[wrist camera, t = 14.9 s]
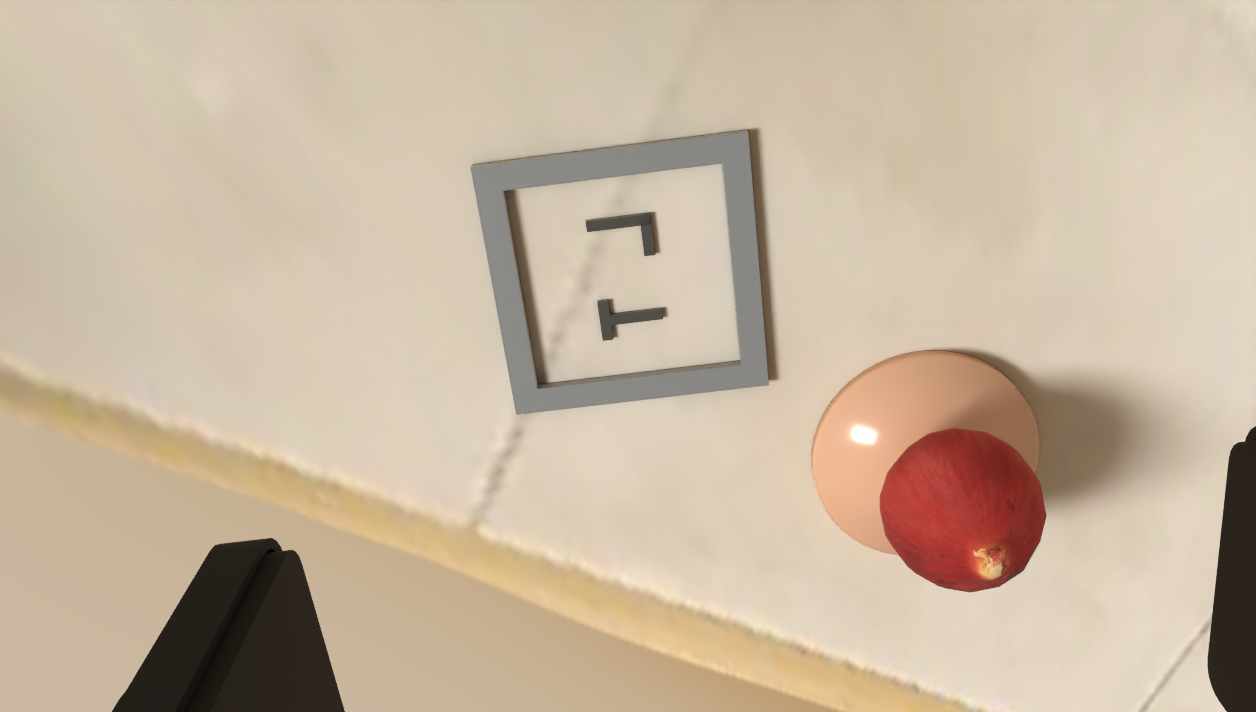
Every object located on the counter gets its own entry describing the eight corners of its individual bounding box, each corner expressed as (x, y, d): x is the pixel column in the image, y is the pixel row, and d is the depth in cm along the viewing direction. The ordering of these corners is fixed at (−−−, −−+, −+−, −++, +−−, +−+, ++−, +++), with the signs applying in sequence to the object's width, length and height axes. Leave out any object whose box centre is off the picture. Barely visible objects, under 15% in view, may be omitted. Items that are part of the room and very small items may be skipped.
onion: (1033, 470, 44) (1116, 589, 37) (911, 546, 46) (968, 674, 38) (959, 367, 43) (1031, 469, 35) (834, 448, 44) (878, 563, 37)
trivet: (1035, 337, 43) (1042, 345, 42) (1030, 532, 47) (1037, 543, 46) (804, 364, 43) (808, 373, 43) (817, 556, 47) (820, 567, 46)
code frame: (747, 129, 40) (748, 132, 39) (767, 380, 44) (769, 385, 43) (472, 164, 40) (470, 167, 40) (517, 410, 44) (516, 414, 44)
